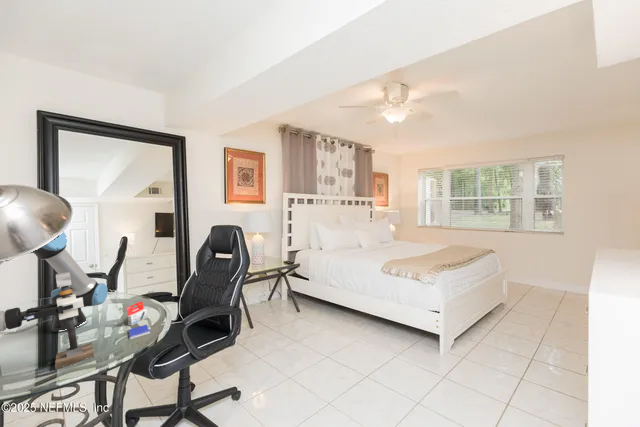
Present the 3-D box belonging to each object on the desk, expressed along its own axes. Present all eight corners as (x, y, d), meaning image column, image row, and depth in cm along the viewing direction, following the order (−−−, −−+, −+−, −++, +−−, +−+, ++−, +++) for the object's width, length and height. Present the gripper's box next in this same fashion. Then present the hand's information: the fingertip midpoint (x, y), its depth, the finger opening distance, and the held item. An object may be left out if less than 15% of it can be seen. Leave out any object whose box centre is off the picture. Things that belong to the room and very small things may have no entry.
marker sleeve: (59, 316, 125) (57, 298, 125) (78, 312, 129) (75, 294, 129) (59, 320, 120) (56, 300, 120) (78, 315, 124) (75, 296, 124)
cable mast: (57, 358, 127) (44, 275, 125) (92, 346, 134) (80, 268, 133) (55, 369, 116) (41, 279, 115) (93, 357, 124) (81, 272, 122)
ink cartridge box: (148, 317, 168) (145, 300, 167) (132, 325, 157) (129, 307, 156) (144, 317, 168) (142, 300, 168) (128, 325, 157) (125, 307, 157)
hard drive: (149, 331, 143) (147, 324, 153) (129, 337, 139) (128, 329, 149) (150, 334, 143) (147, 327, 153) (130, 340, 139) (128, 332, 149)
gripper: (11, 323, 120) (83, 305, 135) (3, 336, 106) (85, 315, 121) (8, 305, 120) (81, 289, 135) (-1, 315, 106) (82, 296, 120)
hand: (83, 301), depth 128 cm, fingers closed on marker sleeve, 6 cm apart
